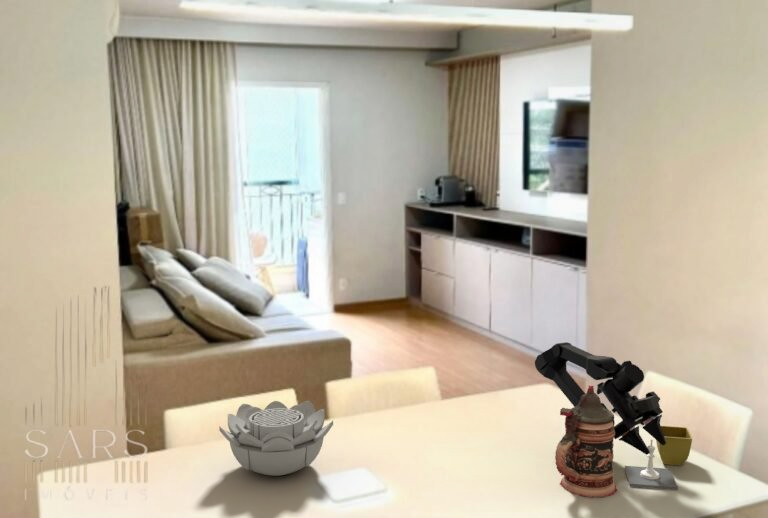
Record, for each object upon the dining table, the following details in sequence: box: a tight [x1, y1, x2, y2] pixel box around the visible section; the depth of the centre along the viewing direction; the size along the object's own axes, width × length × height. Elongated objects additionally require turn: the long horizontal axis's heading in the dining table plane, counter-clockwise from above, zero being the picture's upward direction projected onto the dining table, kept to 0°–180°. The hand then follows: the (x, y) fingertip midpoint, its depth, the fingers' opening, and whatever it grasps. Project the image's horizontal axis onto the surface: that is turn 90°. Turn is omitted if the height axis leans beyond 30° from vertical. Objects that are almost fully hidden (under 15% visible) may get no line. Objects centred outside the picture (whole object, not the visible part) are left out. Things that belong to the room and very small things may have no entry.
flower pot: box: [655, 425, 693, 466], centre depth 225 cm, size 9×9×9 cm
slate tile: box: [624, 465, 679, 491], centre depth 215 cm, size 12×12×1 cm
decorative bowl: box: [218, 400, 334, 476], centre depth 221 cm, size 30×30×15 cm
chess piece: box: [640, 439, 660, 479], centre depth 214 cm, size 5×5×10 cm
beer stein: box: [554, 385, 618, 498], centre depth 209 cm, size 17×28×18 cm
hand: (656, 449), depth 212 cm, fingers open, 9 cm apart
